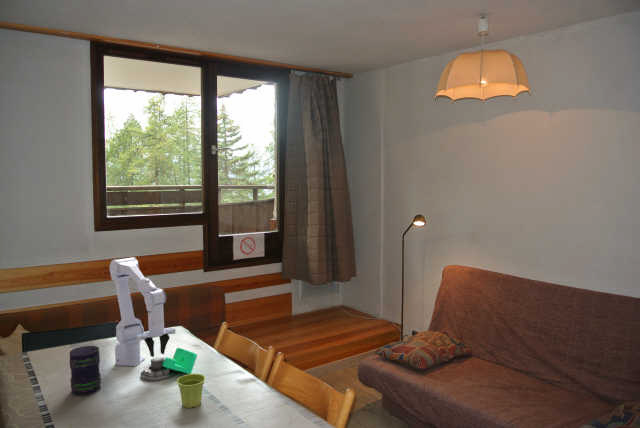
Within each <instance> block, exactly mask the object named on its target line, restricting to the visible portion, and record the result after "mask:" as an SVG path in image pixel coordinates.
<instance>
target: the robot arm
mask: <svg viewBox="0 0 640 428" xmlns="http://www.w3.org/2000/svg"><path fill="white" fill-rule="evenodd" d="M108 269H109V273H110V277H111V281H114V285H115V292H116V294H117V295H116V296H117V302H118V306H119V311H120V318H121V320H120V321H119V322H118V324H117V325H116V326H115V330H116V331H115V332H116V334H115V336H116V341H118V342H116V344H115V348H114V360H115V362H114V366H122V367H124V366H130V367H136V366H138V365H139V364H141V362H143V361H144V360H145V357H141V341H144V343H145V344H146V346H147V348H148V350H149V351H148V352H149V356H150V357H152V358H153V357H154V358H155V349H154V347H155V340H154V339H153V338H158V337H159V344H160V346H159V347H160V349H159V350H160V354H161V355H165V351H166V347H167V344H168V341H169V340H170V335H175V334H177V333H176V328H175V327H170V328H165V318H164V317H165V316H164V314H165V313H164V304H165V303H166V301H167V295H166V292H165V291H164V289H162V288H158V287H157V286H156V285H155V284H154V283H153V282H152V280H151V279H150V278H148V277H147V278H145V276H144V274H143V273H142V272H141V270H140V267H139V261H138V260H137V258H136V257H134V256H132V257H128V258H121V259H120V258H119V259H113V260H111V262H110V264H109V268H108ZM130 279H132V280H133V281H134V282H135V284H136V288H137V290H138V291H139V292H140V293H141V295H142V296H143V297H144V298H143V299H144V303H145V305H146V306H145V307H146V311H147V316H148V317H147V318H148V320H147V321H148V322H147V323H148V331H147V332H145V330H144V329H145V328H144V326H143V324H142V320H141V319H139V318H136V317H135V313H134V308H133V301H132V296H131V290H130V286H129V280H130Z"/></svg>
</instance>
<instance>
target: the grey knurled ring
mask: <svg viewBox="0 0 640 428" xmlns="http://www.w3.org/2000/svg"><path fill="white" fill-rule="evenodd" d="M142 369H143V371H141V372H140V379H141V380H143V381H145V382H158V381H163V380H167V379H169V378H172V377H173V376H174V375H175V374H176V370H174V369H170V368H167V367H165V368H164V369H161V370H151V363H149V364H147V365H145V366H144V367H143V368H142Z"/></svg>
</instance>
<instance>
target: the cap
mask: <svg viewBox="0 0 640 428" xmlns="http://www.w3.org/2000/svg"><path fill="white" fill-rule="evenodd" d="M164 360H165V357H162V356H161V357H159V356H158V357H154V358H153V357H152V359H150V364H151V370H161V369H164V368H165V367H164V366H162V365H163V363H164Z"/></svg>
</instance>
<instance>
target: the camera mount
mask: <svg viewBox="0 0 640 428" xmlns="http://www.w3.org/2000/svg"><path fill="white" fill-rule="evenodd" d="M172 357H173V358H170V357H166V356H165V357H164V363H163V365H162V366H164V367H167V368H170V369H174V370H175V371H178V372H181V373H186V374H192V371H193V370H194V365H195V363H196V360H197V358H198V354H197V353H195V352H193V351H190V350H187V349H184V348H180V347H177V348H176V349H175V352H174V354H173V356H172Z"/></svg>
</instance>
